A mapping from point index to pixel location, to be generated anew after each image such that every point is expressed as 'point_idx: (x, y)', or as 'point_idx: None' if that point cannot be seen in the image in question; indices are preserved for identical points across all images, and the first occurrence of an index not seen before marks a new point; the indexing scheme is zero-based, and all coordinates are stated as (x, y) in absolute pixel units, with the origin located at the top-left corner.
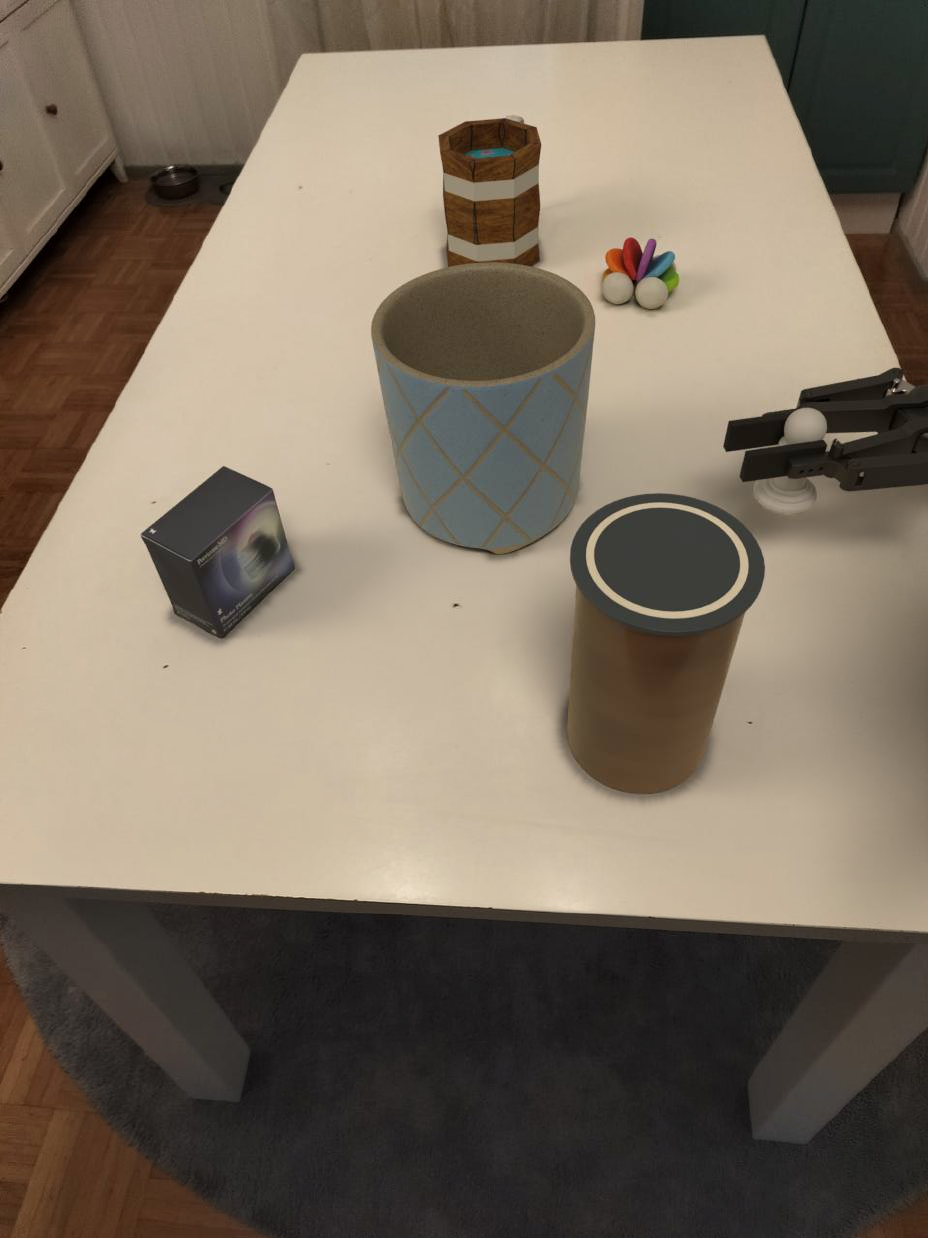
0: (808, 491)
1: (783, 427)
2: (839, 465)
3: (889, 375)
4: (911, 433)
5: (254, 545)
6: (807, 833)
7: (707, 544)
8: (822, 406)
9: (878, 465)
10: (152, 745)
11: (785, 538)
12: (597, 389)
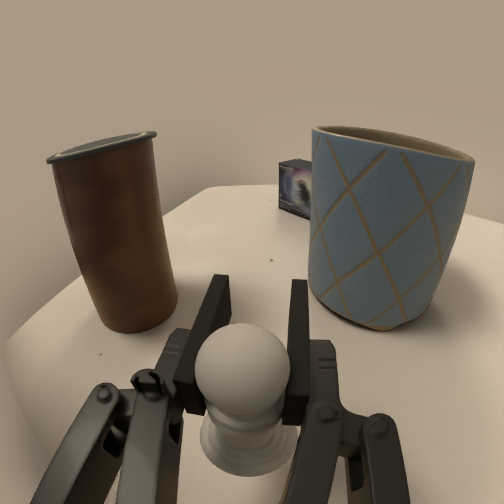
0: (218, 446)
1: None
2: (132, 389)
3: None
4: None
5: (300, 185)
6: (43, 339)
7: (86, 147)
8: (319, 444)
9: (74, 423)
10: (236, 198)
11: (264, 491)
12: (493, 360)
